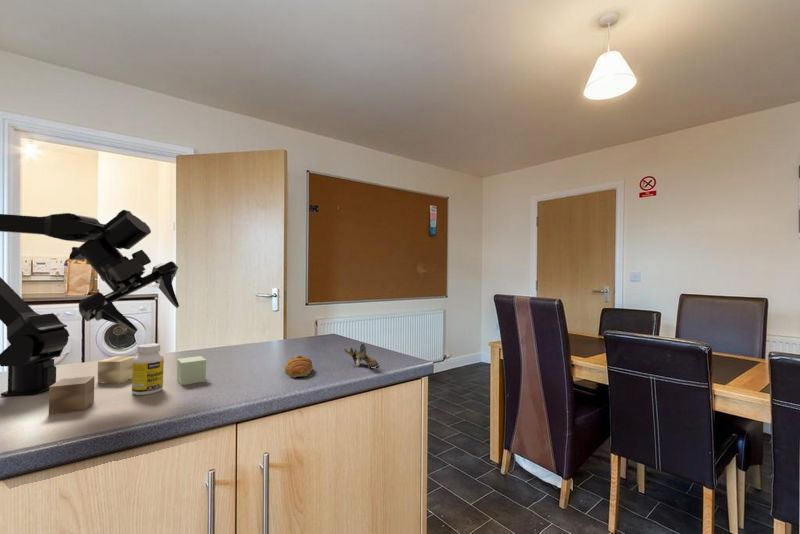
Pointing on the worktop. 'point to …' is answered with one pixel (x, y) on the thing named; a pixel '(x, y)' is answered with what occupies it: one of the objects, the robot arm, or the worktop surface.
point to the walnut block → (71, 395)
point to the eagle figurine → (362, 356)
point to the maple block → (115, 369)
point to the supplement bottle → (147, 370)
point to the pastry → (298, 366)
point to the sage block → (191, 370)
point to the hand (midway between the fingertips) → (157, 318)
